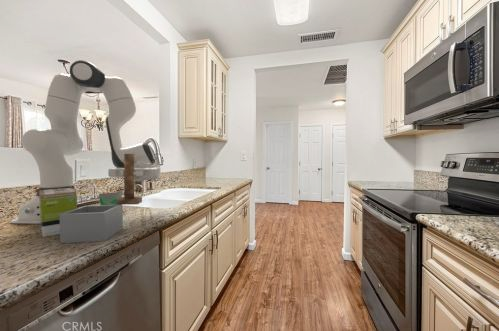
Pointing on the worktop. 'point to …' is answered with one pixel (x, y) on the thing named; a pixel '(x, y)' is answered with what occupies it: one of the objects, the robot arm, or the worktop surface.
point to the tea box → (55, 208)
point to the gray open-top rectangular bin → (90, 223)
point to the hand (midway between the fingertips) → (128, 173)
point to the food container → (110, 198)
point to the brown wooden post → (128, 182)
